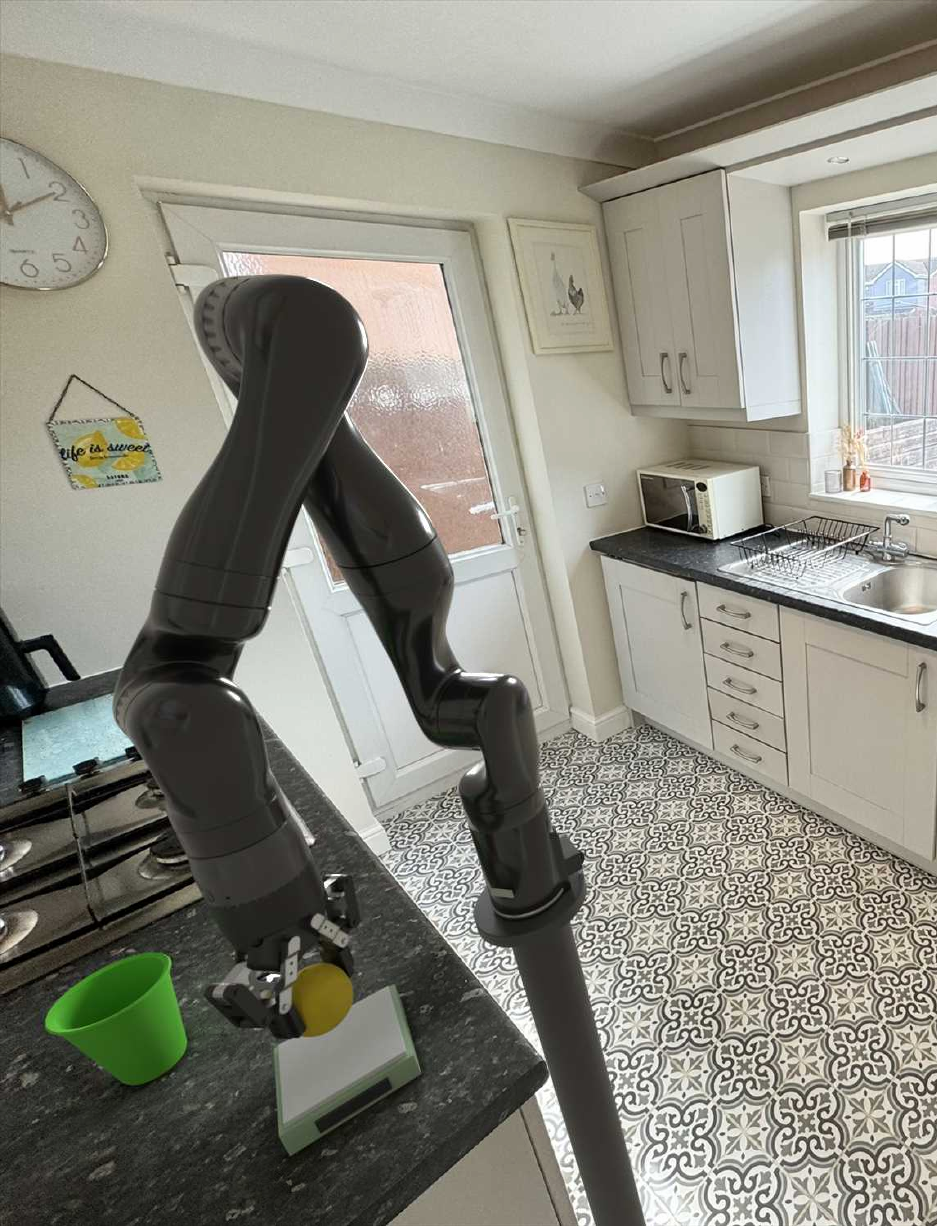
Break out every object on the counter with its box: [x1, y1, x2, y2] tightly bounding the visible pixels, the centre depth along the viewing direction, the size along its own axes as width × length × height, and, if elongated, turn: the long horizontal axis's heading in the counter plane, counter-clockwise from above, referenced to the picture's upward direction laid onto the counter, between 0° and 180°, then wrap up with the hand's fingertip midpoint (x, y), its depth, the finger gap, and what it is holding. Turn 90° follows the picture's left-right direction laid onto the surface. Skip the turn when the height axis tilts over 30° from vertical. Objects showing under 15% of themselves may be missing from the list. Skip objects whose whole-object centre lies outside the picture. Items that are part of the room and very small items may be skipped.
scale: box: [273, 983, 422, 1157], centre depth 66 cm, size 11×11×4 cm
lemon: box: [292, 962, 354, 1037], centre depth 63 cm, size 6×6×8 cm
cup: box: [44, 951, 188, 1086], centre depth 67 cm, size 9×9×11 cm
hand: (319, 1003), depth 63 cm, fingers closed on lemon, 5 cm apart
